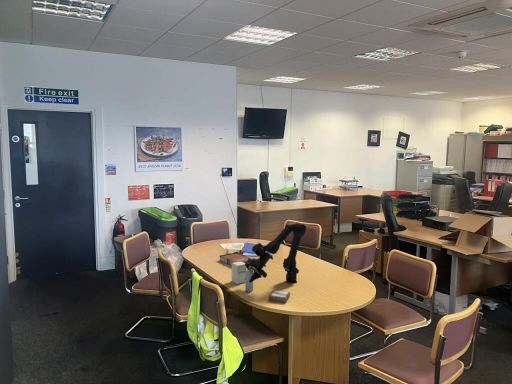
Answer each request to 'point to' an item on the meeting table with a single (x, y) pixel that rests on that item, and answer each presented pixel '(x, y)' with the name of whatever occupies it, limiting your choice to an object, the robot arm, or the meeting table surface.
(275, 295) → the foundation block
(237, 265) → the supplement box
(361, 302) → the meeting table surface
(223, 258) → the book
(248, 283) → the slate pillar
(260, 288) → the meeting table surface
